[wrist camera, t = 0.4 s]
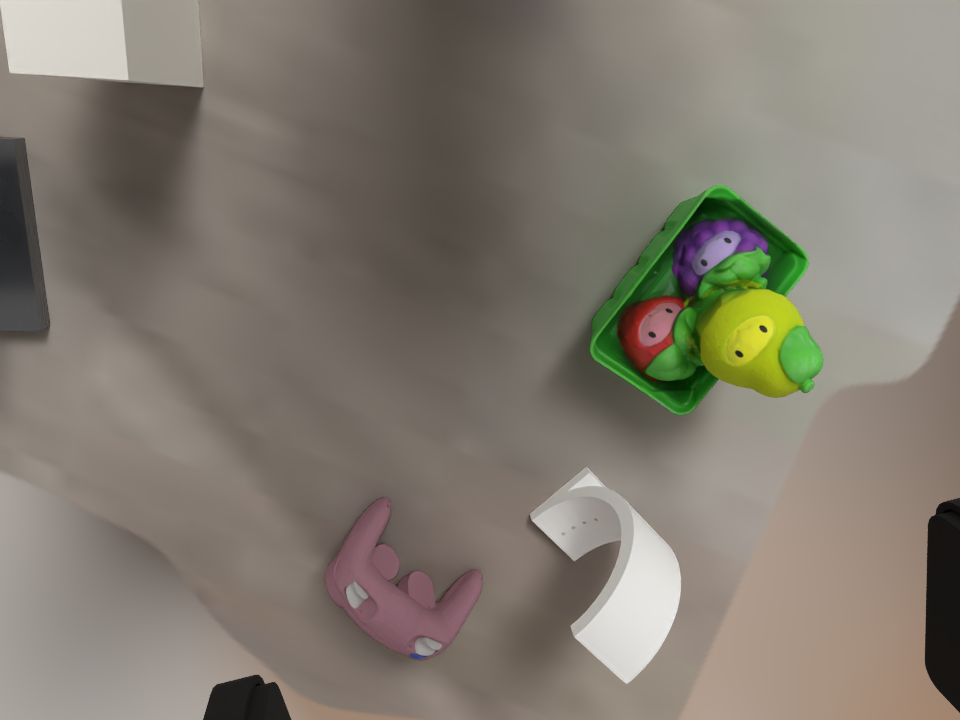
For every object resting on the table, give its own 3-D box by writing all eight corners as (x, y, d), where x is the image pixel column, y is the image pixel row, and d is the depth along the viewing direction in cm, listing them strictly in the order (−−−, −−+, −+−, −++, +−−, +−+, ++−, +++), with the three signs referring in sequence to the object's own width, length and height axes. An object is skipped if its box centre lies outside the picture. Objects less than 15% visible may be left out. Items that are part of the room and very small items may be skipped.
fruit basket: (679, 168, 42) (778, 190, 32) (784, 254, 45) (908, 300, 34) (561, 326, 45) (617, 395, 34) (667, 398, 47) (750, 483, 37)
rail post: (113, -5, 36) (-9, -55, 25) (198, 2, 36) (117, -44, 25) (121, 82, 37) (9, 72, 26) (203, 87, 38) (128, 80, 26)
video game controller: (342, 512, 49) (301, 603, 43) (384, 486, 46) (346, 579, 41) (447, 592, 52) (421, 686, 46) (492, 572, 49) (470, 669, 44)
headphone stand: (528, 513, 49) (573, 636, 37) (598, 456, 48) (665, 563, 37) (571, 554, 50) (626, 685, 39) (639, 499, 49) (715, 615, 38)
